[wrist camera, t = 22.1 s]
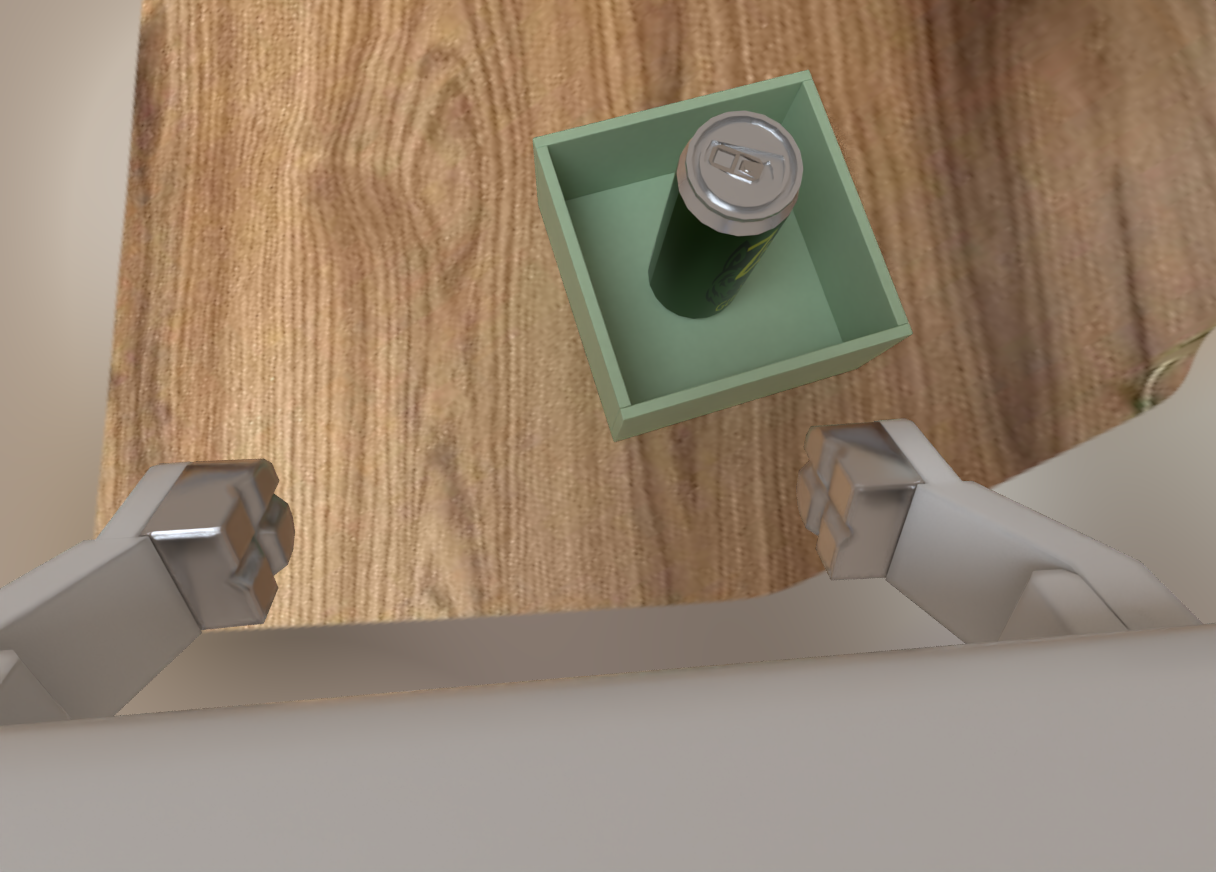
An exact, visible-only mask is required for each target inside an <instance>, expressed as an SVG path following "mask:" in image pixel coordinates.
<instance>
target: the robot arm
mask: <svg viewBox="0 0 1216 872" xmlns="http://www.w3.org/2000/svg"><path fill="white" fill-rule="evenodd" d="M804 450H805V452H806V454H807V456H808V457H809V459H810V460H809V461H808V462H807V463H806V464H805V465H804V466H803V467H802V468H801V469H800V470H799V474H798V480H797V486H796V492H797V505H798V509H799V513H800V517H801V519H802V521H803V523H804V525H805V528H806V529H808V530H810V531H811V532H813V533H814V534H816V535H817V536H818V539H817V544H816V548H815V549H816V551H817V553H818V555H819V557H820V559H821V561H822V563H823V565H824V567H825V569H826V571H827V573H828V575H829V577H830V579H831V580H844V579H866V578H886V581H887V582H889V583H890V584H891V585H892V586H894V587H895V588H896V589H897V590H899V591H900V592H901V593H902V594H904V595H905V596H906V597H907V598H909V599H910V600H911V601H913V602H914V603H915V604H916V605H918V606H919V607H920V608H921V609H923V610H924V611H925V612H927V613H928V614H929V615H930V616H932V617H933V618H934V619H935V620H936V621H938V622H939V623H940V624H942V625H943V626H944V627H945V628H947V629H948V630H949V631H950V632H952V633H953V634H954V635H956V636H957V637H958V638H959V639H961V640H962V641H963V642H964V643H965V644H960V645H948V646H936V647H925V648H914V649H904V650H903V649H902V650H891V651H880V652H868V653H857V654H844V655H833V656H821V657H809V658H797V659H785V660H773V661H761V662H748V663H736V664H725V665H712V666H700V667H688V668H677V669H664V670H651V671H639V672H628V673H616V674H604V675H592V676H581V677H569V678H558V679H545V680H534V681H522V682H510V683H498V684H487V685H475V686H463V687H452V688H439V689H428V690H416V691H404V692H392V693H381V694H369V695H357V696H345V697H333V698H321V699H310V700H298V701H287V702H275V703H263V704H251V705H239V706H227V707H217V708H216V707H215V708H203V709H191V710H181V711H168V712H156V713H145V714H132V715H122V716H121V715H120V716H114V715H115V714H116V713H117V712H118V711H120V710H121V709H122V708H123V707H124V706H125V705H126V704H127V703H128V702H129V701H130V700H131V699H132V698H133V697H134V696H136V695H137V694H138V693H139V692H140V691H141V690H142V689H143V688H144V687H145V686H146V685H147V684H148V683H149V682H150V681H152V680H153V678H155V677H156V676H157V675H158V674H159V673H160V672H161V671H162V670H163V669H164V668H165V667H166V666H167V665H168V664H170V663H171V662H172V661H173V660H174V659H175V658H176V657H177V656H178V655H179V654H180V653H181V652H182V651H183V650H184V649H186V648H187V647H188V646H189V645H190V644H191V643H192V642H193V641H194V640H195V639H196V638H197V637H198V636H199V635H200V634H201V633H202V631H201V630H206V629H216V628H226V627H236V626H245V625H255V624H264V622H265V619H266V617H267V614H268V612H269V609H270V607H271V604H272V602H273V600H274V597H275V595H276V592H277V590H278V586H277V583H276V581H275V578H274V575H275V574H277V573H278V572H279V571H280V570H282V569H283V568H284V567H285V566H287V565H288V562H289V560H290V557H291V554H292V552H293V546H294V536H295V529H294V522H293V516H292V513H291V511H290V508H289V505H288V503H286V502H285V501H283V500H282V499H281V498H279V497H278V496H277V495H275V494H274V491H275V489H276V487H277V485H278V483H279V479H278V476H277V474H276V472H275V469H274V467H273V465H272V463H271V462H269V461H267V460H265V459H243V460H218V461H196V462H176V463H160V464H158V465H155V466H152V467H150V468H149V470H148V471H147V472H146V474H145V475H144V476H143V478H142V479H141V480H140V481H139V483H138V484H137V485H136V487H135V488H134V489H133V491H132V492H131V493H130V495H129V496H128V497H127V499H126V500H125V501H124V503H123V504H122V505H121V507H120V508H119V509H118V510H117V512H116V513H115V514H114V516H113V517H112V518H111V520H110V521H109V522H108V524H107V525H106V526H105V528H104V529H103V530H102V532H101V533H100V534H99V536H98V537H97V538H96V539H95V540H84V541H82V542H80V543H78V544H76V545H75V546H73V547H71V548H70V549H68V550H66V551H64V552H63V553H61V554H59V555H57V556H56V557H54V558H52V559H50V560H49V561H47V562H45V563H44V564H42V565H40V566H38V567H36V568H35V569H33V570H31V571H29V572H28V573H26V574H24V575H22V576H21V577H19V578H17V579H16V580H14V581H12V582H11V583H9V584H7V585H5V586H3V587H2V588H0V872H1216V623H1209V624H1203V623H1202V622H1201V621H1200V620H1199V619H1198V618H1197V617H1196V616H1195V615H1194V614H1193V613H1192V612H1191V611H1190V610H1189V609H1188V608H1187V607H1186V606H1185V605H1184V604H1183V603H1182V602H1181V601H1180V600H1179V599H1178V598H1177V597H1176V596H1175V595H1174V594H1173V593H1172V592H1171V591H1170V590H1169V589H1168V588H1167V587H1166V586H1165V585H1164V584H1163V583H1162V582H1161V581H1160V580H1159V579H1158V578H1157V577H1156V576H1155V575H1154V574H1153V573H1152V572H1151V571H1150V570H1149V569H1148V568H1147V567H1146V566H1145V565H1144V564H1143V563H1142V562H1141V561H1139V560H1137V559H1135V558H1133V557H1131V556H1129V555H1127V554H1125V553H1122V552H1120V551H1118V550H1116V549H1114V548H1112V547H1110V546H1108V545H1106V544H1104V543H1101V542H1099V541H1097V540H1095V539H1093V538H1091V537H1089V536H1087V535H1085V534H1083V533H1080V532H1078V531H1076V530H1074V529H1072V528H1070V527H1068V526H1066V525H1064V524H1062V523H1060V522H1057V521H1055V520H1053V519H1051V518H1049V517H1047V516H1045V515H1043V514H1041V513H1038V512H1036V511H1034V510H1032V509H1030V508H1028V507H1026V506H1024V505H1022V504H1020V503H1018V502H1015V501H1013V500H1011V499H1009V498H1007V497H1005V496H1003V495H1001V494H999V493H997V492H995V491H992V490H990V489H988V488H986V487H984V486H982V485H980V484H978V483H976V482H974V481H962V480H961V479H960V478H959V477H958V476H957V474H956V473H955V472H954V471H953V470H952V468H951V467H950V466H949V465H948V464H947V462H946V461H945V460H944V459H943V457H942V456H941V455H940V454H939V453H938V451H937V450H936V449H935V448H934V447H933V445H932V444H931V443H930V442H929V441H928V439H927V438H926V437H925V436H924V434H923V433H922V432H921V431H920V430H919V428H918V427H917V426H916V425H915V424H914V422H912V421H910V420H908V419H906V418H902V419H891V420H880V421H874V422H866V423H852V424H838V425H824V426H811V427H810V429H809V431H808V433H807V434H806V439H805V443H804Z"/></svg>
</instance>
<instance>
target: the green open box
mask: <svg viewBox="0 0 1216 872" xmlns="http://www.w3.org/2000/svg"><path fill="white" fill-rule="evenodd" d="M731 111H750V112H754V113H759V114H763V115H765V116H767V117H769V118H771V119H772V120H774V121H776V122H778V123H780V124H781V125H782V126H783V127H784V128H785V129H786V130H787V131H788V132H789V133H790V134H791V135H792V137H793V139H794V140H795V142H796V144H797V146H798V148H799V150H800V152H801V158H802V163H803V174H802V180H801V186H800V189H799V195H798V200H797V202H796V204H795V205H794V207H793V209H792V211H791V213H790V214H789V216H788V218H787V219H786V221H785V222H784V224H783V225H782V227H781V228H780V230H779V231H778V233H777V234H776V236H775V237H774V239H773V240H772V242H771V243H770V245H769V246H768V248H767V249H766V251H765V252H764V254H763V255H762V257H761V258H760V260H759V261H758V263H757V264H756V266H755V267H754V269H753V270H752V272H751V273H750V275H749V276H748V278H747V279H746V281H745V282H744V284H743V285H742V287H741V288H740V290H739V291H738V293H737V294H736V296H735V298H734V299H733V301H732V302H731V303H730V304H729V305H728V306H727V307H726V308H725V309H723V310H722V311H721V312H719V313H717V314H715V315H712V316H710V317H707V318H696V319H692V318H688V317H683V316H679V315H677V314H675V313H673V312H671V311H670V310H668V309H666V308H665V307H664V306H663V305H662V304H661V303H660V302H659V301H658V300H657V298H656V297H655V295H654V293H653V291H652V289H651V287H650V283H649V276H648V268H649V263H650V258H651V255H652V251H653V248H654V244H655V241H656V237H657V234H658V230H659V227H660V223H661V220H662V216H663V213H664V209H665V206H666V202H667V199H668V196H669V192H670V189H671V185H672V182H673V178H674V175H675V171H676V168H677V164H678V161H679V157H680V155H681V153H682V151H683V150H684V148H685V146H686V145H687V143H688V141H689V140H690V139H691V138H692V137H693V136H694V135H695V133H696V131H697V130H698V128H700V127H701V126H702V125H703V124H704V123H706V122H707V121H708V120H709V119H711V118H712V117H715V116H718V115H720V114H723V113H725V112H731ZM533 149H534V161H535V173H536V185H537V197H538V205H539V209H540V212H541V215H542V218H543V221H544V224H545V227H546V230H547V234H548V237H549V240H550V243H551V246H552V249H553V252H554V256H555V259H556V262H557V265H558V268H559V271H560V274H561V278H562V281H563V284H564V287H565V290H566V293H567V296H568V299H569V303H570V306H571V309H572V312H573V315H574V318H575V321H576V325H577V328H578V331H579V334H580V337H581V340H582V343H583V347H584V350H585V353H586V356H587V359H588V362H589V365H590V368H591V372H592V375H593V378H594V381H595V384H596V387H597V390H598V394H599V397H600V400H601V403H602V406H603V409H604V412H605V415H606V419H607V422H608V425H609V428H610V431H611V434H612V437H613V441H614V442H617V441H620V440H623V439H627V438H630V437H633V436H636V435H640V434H643V433H646V432H650V431H653V430H656V429H660V428H663V427H666V426H669V425H673V424H676V423H679V422H683V421H686V420H689V419H693V418H696V417H699V416H703V415H706V414H709V413H712V412H716V411H719V410H722V409H726V408H729V407H732V406H736V405H739V404H742V403H745V402H749V401H752V400H755V399H759V398H762V397H765V396H769V395H772V394H775V393H779V392H782V391H785V390H788V389H792V388H795V387H798V386H802V385H805V384H808V383H812V382H815V381H818V380H821V379H825V378H828V377H831V376H835V375H838V374H841V373H845V372H848V371H851V370H855V369H857V368H859V367H860V366H862V365H864V364H865V363H867V362H869V361H870V360H872V359H873V358H875V357H877V356H878V355H880V354H881V353H883V352H885V351H886V350H888V349H889V348H891V347H893V346H894V345H896V344H897V343H899V342H901V341H902V340H904V339H905V338H907V337H909V336H910V335H912V334H913V332H912V330H911V327H910V325H909V324H908V320H907V317H906V314H905V312H904V309H903V307H902V304H901V302H900V299H899V297H898V294H897V292H896V289H895V287H894V284H893V282H892V279H891V277H890V274H889V271H888V269H887V266H886V264H885V261H884V259H883V256H882V254H881V251H880V249H879V246H878V244H877V241H876V239H875V236H874V233H873V231H872V228H871V226H870V223H869V221H868V218H867V216H866V213H865V211H864V208H863V206H862V203H861V201H860V198H859V195H858V193H857V190H856V188H855V185H854V183H853V180H852V178H851V175H850V173H849V170H848V168H847V165H846V163H845V160H844V157H843V155H842V152H841V150H840V147H839V145H838V142H837V140H836V137H835V135H834V132H833V130H832V127H831V125H830V122H829V120H828V117H827V114H826V112H825V109H824V107H823V104H822V102H821V99H820V97H819V94H818V92H817V89H816V87H815V84H814V82H813V80H812V76H811V74H810V71H809V70H805V71H801V72H797V73H793V74H789V75H785V76H781V77H777V78H773V79H769V80H765V81H761V82H757V83H753V84H749V85H745V86H741V87H737V88H733V89H729V90H725V91H721V92H717V93H713V94H709V95H705V96H701V97H697V98H693V99H688V100H684V101H680V102H676V103H672V104H668V105H664V106H660V107H656V108H652V109H648V110H644V111H640V112H636V113H632V114H628V115H624V116H620V117H616V118H612V119H608V120H604V121H600V122H596V123H592V124H588V125H584V126H580V127H576V128H572V129H568V130H564V131H560V132H556V133H552V134H548V135H544V136H540V137H536V138H533Z"/></svg>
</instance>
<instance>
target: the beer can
mask: <svg viewBox="0 0 1216 872" xmlns="http://www.w3.org/2000/svg"><path fill="white" fill-rule="evenodd" d="M802 174H803V163H802V158H801V152H800V150H799V148H798V146H797V144H796V142H795V140H794V139H793V137H792V135H791V134H790V133H789V132H788V131H787V130H786V129H785V128H784V127H783V126H782V125H781V124H780V123H778V122H776V121H774V120H772V119H771V118H769V117H767V116H765V115H763V114H759V113H754V112H750V111H731V112H725V113H723V114H720V115H718V116H715V117H712V118H711V119H709V120H708V121H707V122H706V123H704V124H703V125H702V126H701V127H700V128H698V130H697V131H696V133H695V135H694V136H693V137H692V138H691V139H690V140H689V141H688V143H687V145H686V146H685V148H684V150H683V151H682V153H681V155H680V157H679V161H678V164H677V168H676V171H675V175H674V178H673V182H672V185H671V189H670V192H669V196H668V199H667V202H666V206H665V209H664V213H663V216H662V220H661V223H660V227H659V230H658V234H657V237H656V241H655V244H654V248H653V251H652V255H651V258H650V263H649V268H648V276H649V283H650V287H651V289H652V291H653V293H654V295H655V297H656V298H657V300H658V301H659V302H660V303H661V304H662V305H663V306H664V307H665V308H666V309H668V310H670V311H671V312H673V313H675V314H677V315H679V316H683V317H688V318H692V319H696V318H707V317H710V316H712V315H715V314H717V313H719V312H721V311H722V310H723V309H725V308H726V307H727V306H728V305H729V304H730V303H731V302H732V301H733V299H734V298H735V296H736V294H737V293H738V291H739V290H740V288H741V287H742V285H743V284H744V282H745V281H746V279H747V278H748V276H749V275H750V273H751V272H752V270H753V269H754V267H755V266H756V264H757V263H758V261H759V260H760V258H761V257H762V255H763V254H764V252H765V251H766V249H767V248H768V246H769V245H770V243H771V242H772V240H773V239H774V237H775V236H776V234H777V233H778V231H779V230H780V228H781V227H782V225H783V224H784V222H785V221H786V219H787V218H788V216H789V214H790V213H791V211H792V209H793V207H794V205H795V204H796V202H797V200H798V195H799V189H800V186H801V180H802Z"/></svg>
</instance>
